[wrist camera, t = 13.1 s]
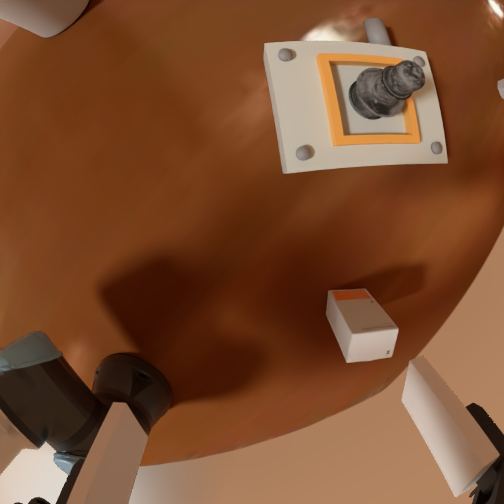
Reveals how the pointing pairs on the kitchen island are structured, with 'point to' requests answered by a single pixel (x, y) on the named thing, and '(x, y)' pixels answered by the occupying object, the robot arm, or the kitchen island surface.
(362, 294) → the skincare box
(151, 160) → the kitchen island surface
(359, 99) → the chess piece
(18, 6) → the cylinder vase
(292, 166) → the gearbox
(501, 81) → the low poly bottle
